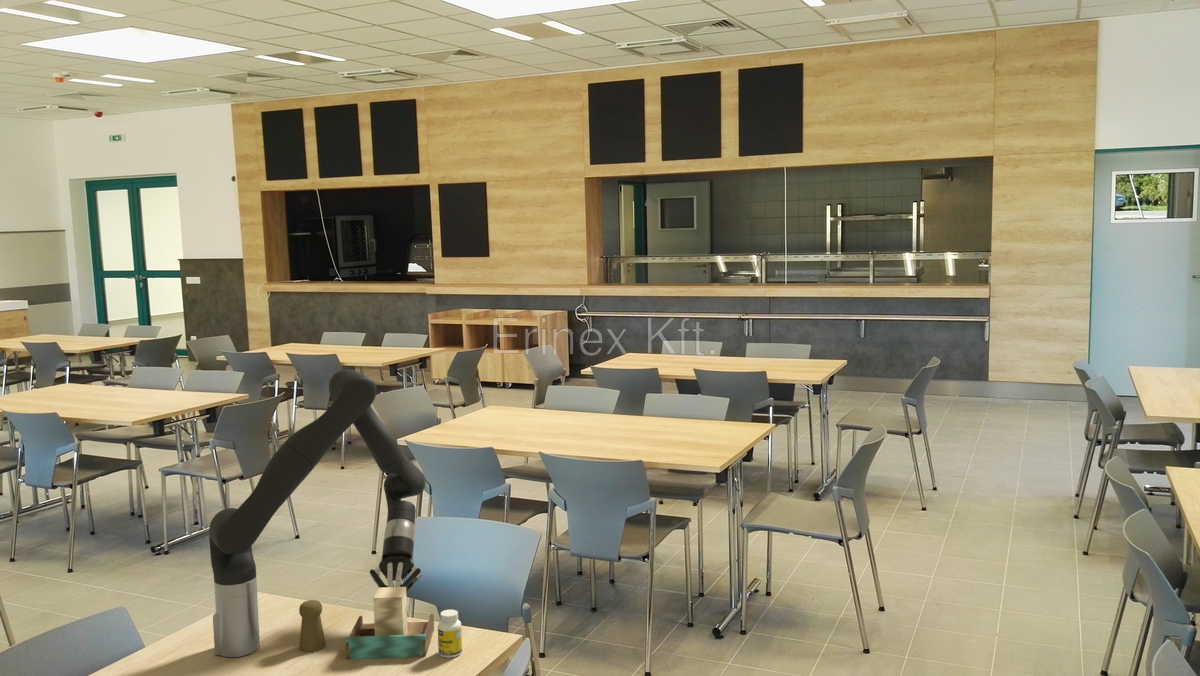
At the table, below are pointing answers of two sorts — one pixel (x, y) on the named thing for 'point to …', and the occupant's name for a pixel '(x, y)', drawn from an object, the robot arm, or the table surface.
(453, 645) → the supplement bottle
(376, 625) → the maple block
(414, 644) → the trap lane
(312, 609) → the olive pawn
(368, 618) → the table surface
